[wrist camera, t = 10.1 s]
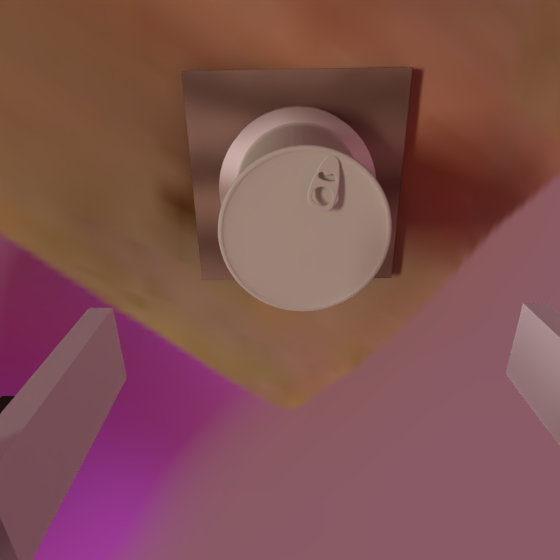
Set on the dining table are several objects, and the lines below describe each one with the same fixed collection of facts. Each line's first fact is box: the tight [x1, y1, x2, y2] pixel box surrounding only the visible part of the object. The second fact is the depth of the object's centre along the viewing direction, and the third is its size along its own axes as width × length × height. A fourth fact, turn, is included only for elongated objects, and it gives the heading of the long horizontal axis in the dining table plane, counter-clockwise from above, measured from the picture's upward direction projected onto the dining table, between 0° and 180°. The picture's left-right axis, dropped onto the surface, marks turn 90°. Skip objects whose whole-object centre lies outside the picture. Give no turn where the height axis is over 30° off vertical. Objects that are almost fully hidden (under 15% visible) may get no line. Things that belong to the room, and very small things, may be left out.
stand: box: [181, 67, 412, 280], centre depth 35 cm, size 17×17×4 cm
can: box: [218, 122, 392, 311], centre depth 28 cm, size 9×9×12 cm
